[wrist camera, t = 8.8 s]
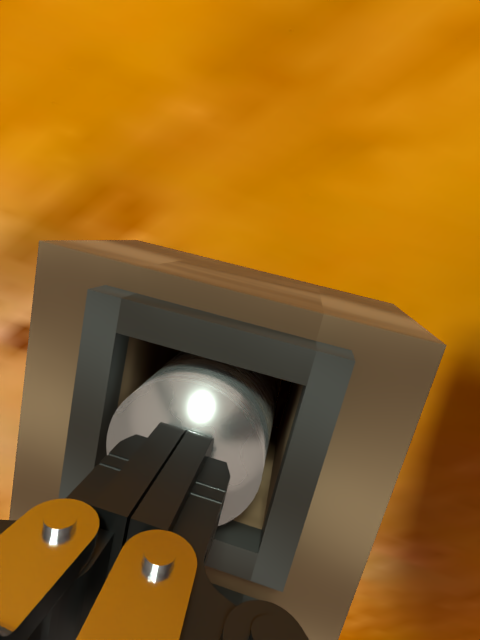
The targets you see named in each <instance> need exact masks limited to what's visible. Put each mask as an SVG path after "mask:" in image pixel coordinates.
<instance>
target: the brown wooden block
mask: <svg viewBox="0 0 480 640" xmlns="http://www.w3.org/2000/svg"><path fill="white" fill-rule="evenodd" d="M445 348H446V345H445V344H444V343H443V342H441V341H440V340H439V339H438V338H436V337H435V336H434V335H432V334H431V333H430V332H429V331H427V330H426V329H425V328H423V327H422V326H421V325H419V324H418V323H417V322H416V321H414V320H413V319H412V318H410V317H409V316H408V315H407V314H405V313H404V312H403V311H401V310H400V309H399V308H397V307H396V306H395V305H394V304H391V303H387V302H383V301H379V300H375V299H371V298H367V297H363V296H359V295H355V294H351V293H347V292H343V291H339V290H335V289H331V288H327V287H322V286H318V285H314V284H310V283H306V282H302V281H298V280H294V279H290V278H286V277H282V276H278V275H274V274H270V273H266V272H262V271H258V270H254V269H250V268H246V267H242V266H238V265H234V264H230V263H226V262H222V261H218V260H214V259H210V258H206V257H202V256H198V255H194V254H190V253H186V252H182V251H178V250H174V249H170V248H166V247H162V246H158V245H154V244H150V243H146V242H142V241H138V240H77V241H39V248H38V257H37V267H36V276H35V285H34V294H33V304H32V313H31V322H30V332H29V341H28V350H27V359H26V369H25V378H24V387H23V397H22V406H21V415H20V425H19V434H18V443H17V452H16V462H15V471H14V480H13V490H12V499H11V508H10V517H9V520H18V519H19V518H20V517H22V516H23V515H24V514H25V513H26V512H28V511H29V510H30V509H32V508H33V507H35V506H37V505H39V504H41V503H43V502H46V501H50V500H54V499H65V498H66V497H67V496H68V495H69V494H70V493H71V492H72V491H73V490H74V489H75V488H76V487H77V486H78V485H79V484H80V483H81V482H82V481H83V479H84V478H85V477H86V476H87V475H88V474H89V473H90V472H91V471H92V470H93V469H94V468H95V467H96V466H97V465H99V464H100V462H101V461H102V460H103V458H104V457H105V456H106V455H107V451H106V441H107V433H108V428H109V425H110V422H111V420H112V417H113V415H114V414H115V412H116V410H117V408H118V407H119V406H120V405H121V403H122V402H123V401H124V400H125V399H126V398H127V397H128V396H130V395H131V394H132V393H133V392H134V391H135V390H136V389H138V388H139V387H140V386H141V385H142V384H143V383H145V382H146V381H147V380H148V379H149V378H150V377H152V376H153V375H154V374H155V373H156V372H157V371H158V370H160V369H161V368H162V367H163V366H164V365H165V364H167V363H168V362H169V361H170V360H171V359H172V358H174V357H175V356H176V355H177V354H178V353H179V352H180V351H183V352H186V353H190V354H194V355H197V356H201V357H204V358H208V359H211V360H215V361H219V362H222V363H226V364H229V365H233V366H236V367H240V368H244V369H247V370H251V371H254V372H258V373H261V374H265V375H269V376H272V377H276V378H279V379H283V380H286V381H290V382H292V383H291V386H290V390H289V394H288V397H287V401H286V404H285V408H284V412H283V415H282V419H281V422H280V426H279V428H276V427H272V430H271V435H270V440H269V445H268V450H267V455H266V460H265V464H264V469H263V474H262V479H261V483H260V486H259V489H258V492H257V494H256V495H255V497H254V499H253V501H252V502H251V503H250V505H249V506H248V507H247V508H246V509H245V510H244V511H243V512H242V513H241V514H240V515H238V516H237V517H236V518H234V519H233V520H231V521H229V522H227V523H225V524H223V525H220V526H218V527H217V530H216V533H215V536H214V539H213V542H212V546H211V549H210V552H209V555H208V558H207V561H206V564H205V571H206V574H207V576H208V578H209V580H210V582H211V583H212V585H213V586H214V587H215V589H216V590H217V591H218V592H219V593H220V594H221V595H223V596H224V597H225V598H226V599H228V600H229V601H230V602H232V603H233V604H234V605H236V606H238V605H239V604H241V603H243V602H245V601H250V600H264V601H268V602H271V603H274V604H276V605H278V606H280V607H282V608H283V609H285V610H286V611H287V612H288V613H290V614H291V615H292V616H293V617H294V618H295V619H296V620H297V622H298V623H299V624H300V626H301V627H302V629H303V630H304V632H305V634H306V635H307V637H308V639H309V640H338V638H339V636H340V633H341V630H342V627H343V625H344V622H345V619H346V617H347V614H348V611H349V608H350V606H351V603H352V600H353V598H354V595H355V592H356V589H357V587H358V584H359V581H360V578H361V576H362V573H363V570H364V568H365V565H366V562H367V559H368V557H369V554H370V551H371V549H372V546H373V543H374V540H375V538H376V535H377V532H378V530H379V527H380V524H381V521H382V519H383V516H384V513H385V511H386V508H387V505H388V502H389V500H390V497H391V494H392V492H393V489H394V486H395V483H396V481H397V478H398V475H399V473H400V470H401V467H402V464H403V462H404V459H405V456H406V454H407V451H408V448H409V445H410V443H411V440H412V437H413V434H414V432H415V429H416V426H417V424H418V421H419V418H420V415H421V413H422V410H423V407H424V405H425V402H426V399H427V396H428V394H429V391H430V388H431V386H432V383H433V380H434V377H435V375H436V372H437V369H438V367H439V364H440V361H441V358H442V356H443V353H444V350H445Z"/></svg>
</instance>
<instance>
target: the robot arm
mask: <svg viewBox="0 0 480 640" xmlns="http://www.w3.org/2000/svg"><path fill="white" fill-rule="evenodd" d="M213 443H214V438H212V437H209V436H206V435H202V434H199V433H196V432H193V431H189V430H188V431H187V430H186V429H183V428H179V427H176V426H173V425H169V424H166V423H163V422H160V423H159V424H158V425H157V427H156V428H155V429H154V430H153V432H152V433H151V434H150V435H149V436H148V438H147V437H144V436H140V435H137V434H135V435H133V436H131V437H128V438H126V439H124V440H122V441H120V442H119V443H118V444H117V445H116V446H115V447H114V448H113V449H112V450H111V451H110V452H109V454H108V455H106V456H105V457H104V458H103V460H102V461H101V462H100V464H99V465H97V466H96V467H95V468H94V469H93V470H92V471H91V472H90V473H89V474H88V475H87V476H86V477H85V478H84V479H83V481H82V482H81V483H80V484H79V485H78V486H77V487H76V488H75V489H74V490H73V491H72V492H71V493H70V494H69V495H68V496H67V497H66V498H65V499H54V500H50V501H46V502H43V503H41V504H39V505H37V506H35V507H33V508H32V509H30V510H29V511H28V512H26V513H25V514H24V515H23V516H22V517H20V518H19V519H18V520H0V640H309V639H308V637H307V635H306V634H305V632H304V630H303V629H302V627H301V626H300V624H299V623H298V622H297V620H296V619H295V618H294V617H293V616H292V615H291V614H290V613H288V612H287V611H286V610H285V609H283V608H282V607H280V606H278V605H276V604H274V603H271V602H268V601H264V600H250V601H245V602H243V603H241V604H239V605H238V606H236V605H234V604H233V603H232V602H230V601H229V600H228V599H226V598H225V597H224V596H223V595H221V594H220V593H219V592H218V591H217V590H216V589H215V587H214V586H213V585H212V583H211V582H210V580H209V578H208V576H207V574H206V571H205V564H206V561H207V558H208V555H209V552H210V549H211V546H212V542H213V539H214V536H215V533H216V530H217V527H218V524H219V520H220V516H221V512H222V508H223V504H224V500H225V496H226V492H227V489H228V485H229V481H230V477H231V476H230V472H229V469H228V465H227V462H224V461H221V460H217V459H214V458H211V457H210V456H211V452H212V448H213Z"/></svg>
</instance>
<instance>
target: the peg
mask: <svg viewBox="0 0 480 640" xmlns="http://www.w3.org/2000/svg"><path fill="white" fill-rule="evenodd" d="M280 385H281V379H279V378H276V377H272V376H269V375H265V374H261V373H258V372H254V371H251V370H247V369H244V368H240V367H236V366H233V365H229V364H226V363H222V362H219V361H215V360H211V359H208V358H204V357H201V356H197V355H194V354H190V353H186V352H183V351H180V352H179V353H178V354H177V355H176V356H175V357H174V358H172V359H171V360H170V361H169V362H168V363H167V364H165V365H164V366H163V367H162V368H161V369H160V370H158V371H157V372H156V373H155V374H154V375H153V376H152V377H150V378H149V379H148V380H147V381H146V382H145V383H143V384H142V385H141V386H140V387H139V388H138V389H136V390H135V391H134V392H133V393H132V394H131V395H130V396H128V397H127V398H126V399H125V400H124V401H123V402H122V403H121V405H120V406H119V407H118V408H117V410H116V412H115V414H114V415H113V417H112V420H111V422H110V425H109V428H108V433H107V441H106V451H107V455H108V454H109V452H110V451H111V450H112V449H113V448H114V447H115V446H116V445H117V444H118V443H119V442H120V441H122V440H124V439H126V438H128V437H131V436H133V435H135V434H137V435H140V436H144V437H147V438H148V436H149V435H150V434H151V433H152V432H153V430H154V429H155V428H156V427H157V425H158V424H159V423H160V422H163V423H166V424H169V425H173V426H176V427H179V428H183V429H186V430H187V431H188V430H189V431H193V432H196V433H199V434H202V435H206V436H209V437H212V438H214V443H213V448H212V452H211V456H210V457H211V458H214V459H217V460H221V461H224V462H227V465H228V469H229V472H230V476H231V477H230V481H229V485H228V489H227V492H226V496H225V500H224V504H223V508H222V512H221V516H220V520H219V524H218V526H220V525H223V524H225V523H227V522H229V521H231V520H233V519H234V518H236V517H237V516H238V515H240V514H241V513H242V512H243V511H244V510H245V509H246V508H247V507H248V506H249V505H250V503H251V502H252V501H253V499H254V497H255V495H256V494H257V492H258V489H259V486H260V483H261V479H262V474H263V469H264V464H265V460H266V455H267V450H268V445H269V440H270V435H271V430H272V425H273V420H274V415H275V410H276V405H277V400H278V395H279V390H280Z"/></svg>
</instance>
